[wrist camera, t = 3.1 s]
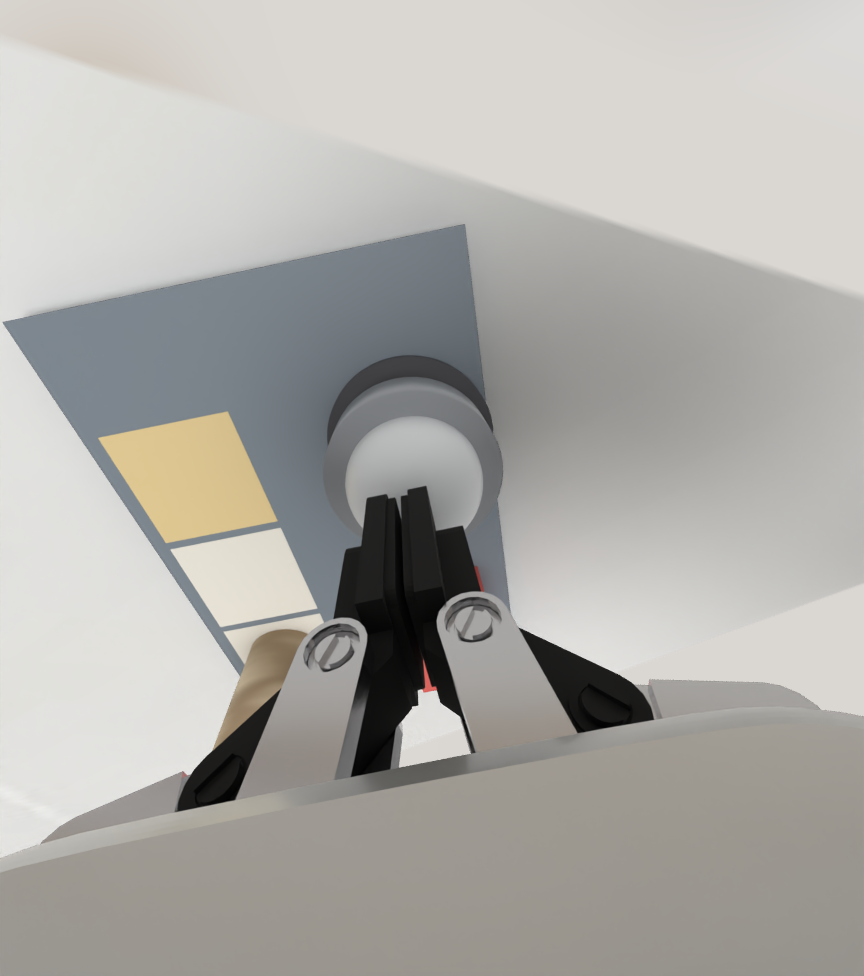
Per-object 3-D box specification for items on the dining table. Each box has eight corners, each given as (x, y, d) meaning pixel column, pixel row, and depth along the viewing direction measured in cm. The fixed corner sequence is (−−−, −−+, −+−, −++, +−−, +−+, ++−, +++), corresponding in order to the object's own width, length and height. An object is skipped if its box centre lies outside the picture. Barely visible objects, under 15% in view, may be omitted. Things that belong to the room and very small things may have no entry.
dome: (480, 359, 14) (514, 395, 10) (497, 505, 17) (529, 579, 13) (309, 394, 14) (273, 444, 10) (357, 533, 18) (344, 615, 13)
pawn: (313, 623, 22) (269, 814, 15) (335, 671, 25) (308, 859, 17) (238, 637, 22) (154, 835, 15) (267, 684, 25) (208, 877, 17)
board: (462, 226, 15) (494, 204, 10) (514, 654, 27) (540, 739, 22) (29, 318, 15) (-146, 340, 10) (272, 700, 27) (245, 793, 22)
